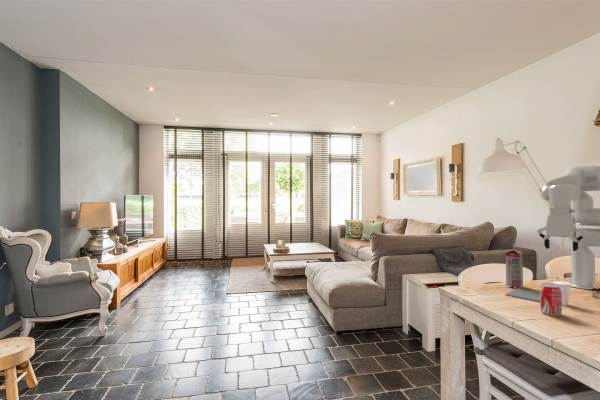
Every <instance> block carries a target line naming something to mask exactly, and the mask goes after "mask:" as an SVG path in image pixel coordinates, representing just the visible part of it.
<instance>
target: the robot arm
mask: <svg viewBox="0 0 600 400" xmlns="http://www.w3.org/2000/svg"><path fill="white" fill-rule="evenodd" d="M592 191H593V192H599V191H600V166H599V165H596V164H595V165H579V166H573V167H570V168H568V169H567V170H566V171H565V173H564V174H563V176H560V177H559V176H558V178H553V179H551V180H549V181H547V182H545V184H544V185H543V187H542V189H541V191H540V194H541V195H540V196H541V198H542V199H543V200H544V201H546V202H549V203H548V204H549V214H547V218H546V226H545V227H542V228H539V229H537V230H536V232H537V233H538V235H539V236H540V237H541V238H542V239H543V240H544V241H543V242H544V243H543V245H544V247H545V249H546V250H547V249H550V238H551V237H556V238H557V237H558V238H568V241H569V246H570V262H571V263H570V264H571V265H570V268H571V270H570V271H571V272H570V273H571V281H569V282H567V283H570V284H571V287H573V288H575V289H576V288H577V289H582V290H590V289H591V290H590V291H593V290H592V289H593V284H594V282H595V283H596V257H595V252H593V250H592V249H591V248H590V247H592V248H593V247H594V248H595V247H596V248H600V208H599V207H598V208H597V207H595V208H594V198H593V196H591V195H590V194H589V193H587V192H592ZM576 225H577V226H582V227H576ZM585 226H586V227H585ZM589 226H590V227H599V228H590V227H589ZM587 227H588V228H587ZM544 231H545V234H544V233H543V232H544Z"/></svg>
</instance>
